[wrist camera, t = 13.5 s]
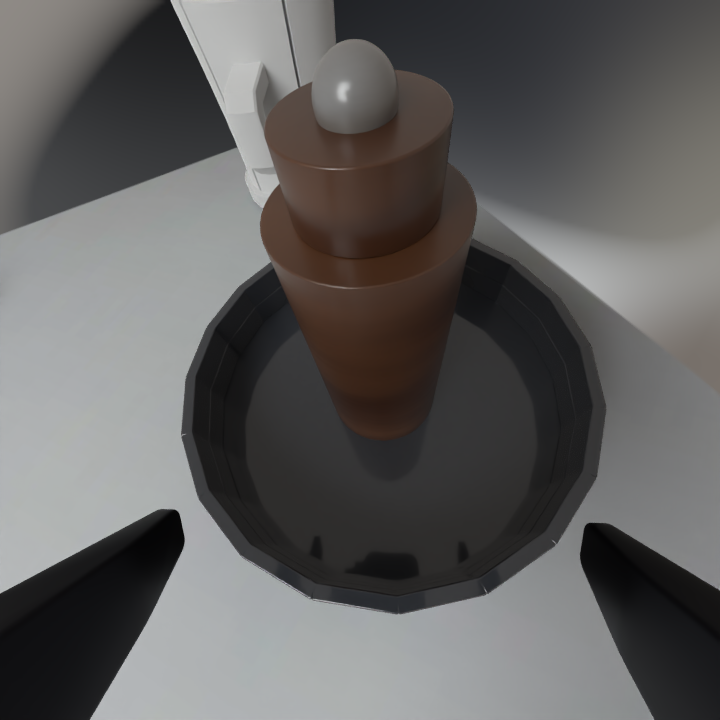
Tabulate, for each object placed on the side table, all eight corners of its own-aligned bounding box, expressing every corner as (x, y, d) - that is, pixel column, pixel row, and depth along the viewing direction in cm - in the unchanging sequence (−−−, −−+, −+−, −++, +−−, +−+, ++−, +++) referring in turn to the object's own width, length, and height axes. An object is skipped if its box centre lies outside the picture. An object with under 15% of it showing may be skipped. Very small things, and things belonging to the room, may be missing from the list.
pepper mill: (414, 457, 16) (469, 151, 4) (316, 418, 17) (125, 107, 5) (445, 365, 18) (544, -15, 6) (356, 338, 19) (289, -13, 7)
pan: (654, 454, 15) (717, 430, 12) (298, 703, 12) (266, 753, 9) (427, 232, 24) (431, 186, 21) (183, 349, 21) (147, 315, 18)
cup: (387, 199, 26) (380, -33, 16) (281, 249, 24) (195, 27, 14) (326, 141, 31) (290, -65, 21) (234, 179, 29) (145, -24, 19)
